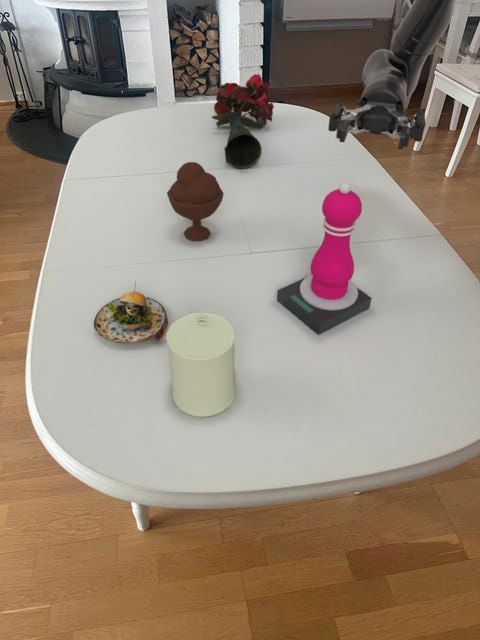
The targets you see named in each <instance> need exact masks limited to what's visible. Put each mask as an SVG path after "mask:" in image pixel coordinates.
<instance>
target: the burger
mask: <svg viewBox="0 0 480 640" xmlns="http://www.w3.org/2000/svg"><path fill="white" fill-rule="evenodd" d="M136 285H137V281H135V282H134V287H136ZM168 325H169V320H168V315H167V311H166V309H165V307H164V306H163V305H162V304H161V303H160V302H159V301H157V300H155V299H153V298H151V297H147V296H145V295H144V294H143V293H141V292H139V291H136V289H134V290H133V291H128V292H126V293H124V294H123V295H121V296H120V297H118V298H115V299H113V300H112V301H110V302H107V303H106V304H105V305H104V306H102V307H100V309H99V311H98V312H97V313H96V315H95V317H94V320H93V328H94V330H95V331H96V332H97V334H98V335H99V336H101V337H103V338H104V339H107V340H109V341H112V342H115V343H118V344H119V343H122V344H123V343H124V344H125V343H138V342H145V341H149V340H150V339H152V338H155V340H156V341H158V342H159V341H160V340H161V339H162V338H163V337H164V336H165V335H166V332H165V329H166V326H168Z"/></svg>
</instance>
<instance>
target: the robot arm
mask: <svg viewBox="0 0 480 640" xmlns="http://www.w3.org/2000/svg"><path fill="white" fill-rule="evenodd" d="M455 4H456V0H414V1H413V2H412V4H411V5H410V7H409V9H408V11H407V13H406V14H405V16H404V17H403V19H402V21H401V22H400V23H399V26H398V27H397V29H396V31H395V32H394V33H393V36H392V38H391V41H390V48H391V50H389V49H385V48H380V49H377V50H375V51H374V52H373V53H372V54H371V55H370V56H369V57H368V58H367V60H366V61H365V64H364V65H363V66H364V67H363V69H362V74H361V81H362V82H361V83H362V86H363V91H362V93H361V96H360V99H359V101H358V104H357V106H354V108H352V109H348V108H347V107H346V106H345V104H344V103H342V102H339V103H337V104H336V105H335V106H334V107H333V109H332V110H331V112H330V113H329V118H328V119H329V120H328V128H327V129H328V131H329V132H336V134H335V138H336V139H338V140H339V143H345V141H346V139H347V136H348V134H350V133H351V134H354V135H358V134H360V133H363V132H365V133H368V134H370V135H371V134H372V135H375V136H382V135H387V136H389V137H390V138H392V139H393V140H394V139H395V140H396V139H398V141H399V142H398V147H397V150H401V151H402V150H404V147H405V148H407V147H409V145H410V141H411V139H413V141H414V142H418V143H419V142H422V141H423V136H424V131H425V128H426V125H427V124H426V114H425V112H423V111H417V112H416V114H413V115H407V113H406V112H405V110H406V104H407V100H408V98H410V97H411V96H412V95H413V93H414V92H415V90H416V88H417V85H418V82H419V79H420V76H421V72H422V69H423V66H424V64H425V62H426V60H427V58H428V57H429V54H430V53H431V52H432V51H433V49H434V48H435V46H436V45H437V44H438V42H439V41H440V40H441V38H442V36H443V35H444V34H445V32H446V31H447V29H448V26H449V25H450V23H451V21H452V18H453V15H454V10H455Z"/></svg>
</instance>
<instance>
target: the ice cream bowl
mask: <svg viewBox="0 0 480 640" xmlns="http://www.w3.org/2000/svg"><path fill="white" fill-rule="evenodd" d="M220 186H221V185H220V184H219V182H218V180H217V177H215V176H214V175H213V174H212V173H209V172H206V170H205V169H204V168H203V166H202V165H201V164H200V163H198V162H196V161H194V162H193V161H188V162H185V163H183V164H182V165H181V166H180V167H179V168H178V170H177V172H176V180H175V181H174V183H172V185H171V186H170V188H169V190H168V191H166V194H167V197H168V200H169V203H170V205H171V207H172V209H173V211H174V212H175V214H177V215H179V216H180V217H183V218H185V219H187V220H191V221H192V225H191V226H189V227H187V228H186V229H185V230H184V233H183V235H184V238H185V239H186V240H189V241H190V242H202V241H205V240H207V239H209V238H210V236H211V232H210V229H209V228H208V227H206V226H204V225H202V220H204V219H207V218H209V217H211V216H212V215H213V214H215V212H216V211H217V210H218V208H219V207H220V206H221V204H222V202H223V200H224V199H223V198H224V195H225V194H224V191H223V190H222V188H221V187H220Z"/></svg>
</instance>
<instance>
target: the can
mask: <svg viewBox="0 0 480 640" xmlns="http://www.w3.org/2000/svg"><path fill="white" fill-rule="evenodd" d="M166 343H167V349H168V357H169V358H168V359H169V366H170V375H171V383H172V384H171V385H172V390H171V396H172V400H173V402H174V404H175V406H176V407H177V408H178V409H179V410H181V412H184V413H185V414H188V415H189V416H193V417H199V418H200V417H201V418H205V417H207V418H208V417H212V416H216V415H218V414H220V413H222V412H224V411H225V410H227V408H229V407H230V406H231V404H232V403H233V401H234V400H235V396H236V385H235V351H236V350H235V345H236V330H235V328H234V326H233V325H232V323H231V322H230V321H229V320H228V319H227V318H224V316H221V315H218V314H215V313H212V312H193V313H189V314H186V315H183V316H180V318H178V319H176V320H175V321H173V322H172V323H171V325H170V326H169V328H168V329H167V332H166Z"/></svg>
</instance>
